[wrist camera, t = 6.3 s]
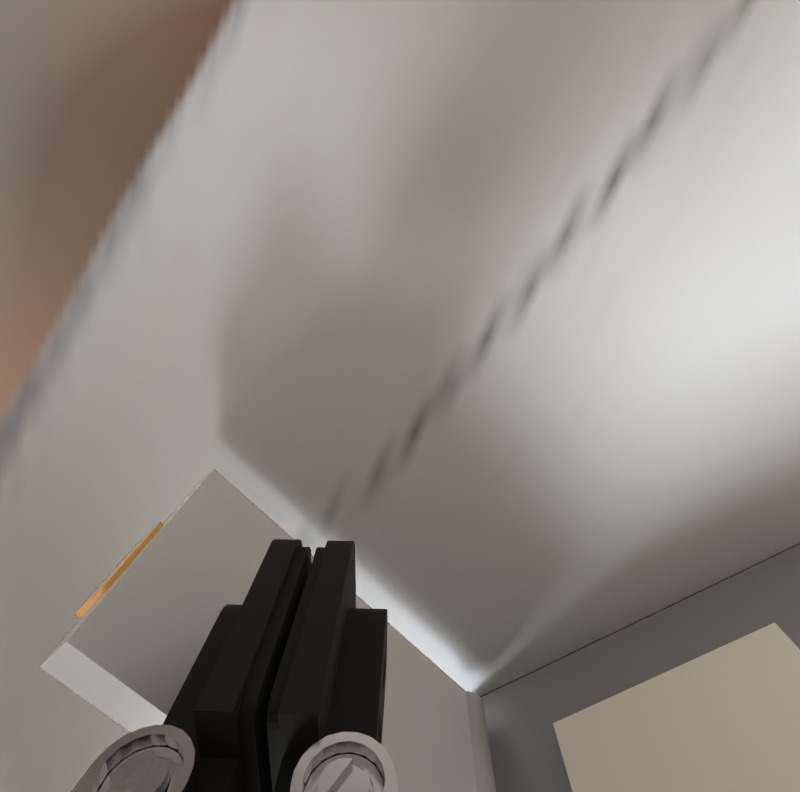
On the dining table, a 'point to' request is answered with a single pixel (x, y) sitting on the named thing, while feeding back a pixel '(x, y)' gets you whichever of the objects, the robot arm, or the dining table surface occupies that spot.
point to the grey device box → (666, 699)
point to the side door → (195, 616)
